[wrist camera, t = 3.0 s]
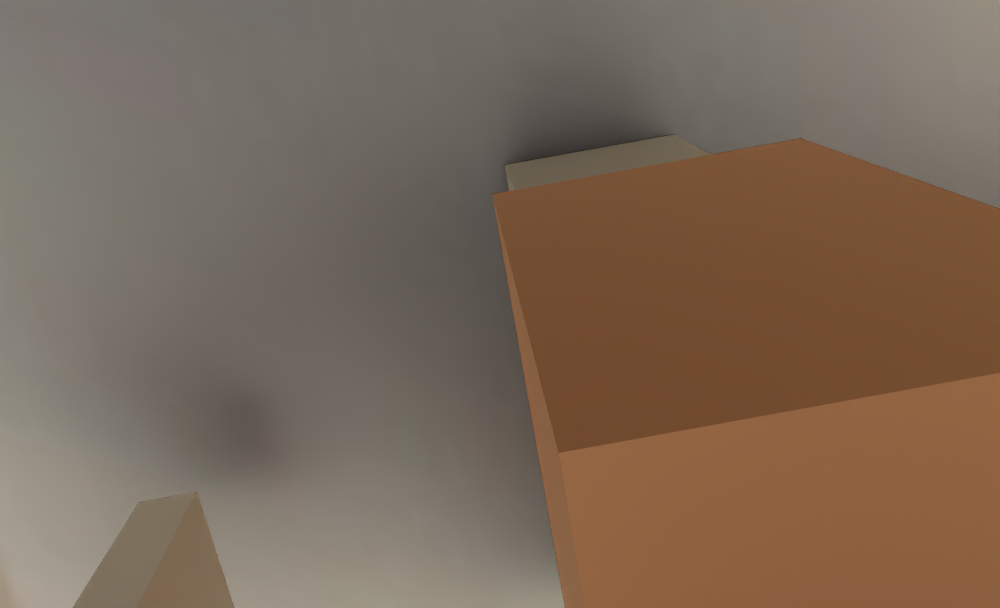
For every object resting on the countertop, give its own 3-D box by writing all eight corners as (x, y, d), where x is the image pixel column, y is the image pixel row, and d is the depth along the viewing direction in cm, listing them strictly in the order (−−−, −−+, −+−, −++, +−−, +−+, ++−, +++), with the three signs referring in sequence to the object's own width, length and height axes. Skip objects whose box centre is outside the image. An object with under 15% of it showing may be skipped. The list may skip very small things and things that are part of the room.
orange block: (478, 138, 14) (558, 453, 4) (692, 99, 14) (1305, 317, 4) (559, 598, 17) (722, 1439, 7) (737, 565, 17) (1153, 1360, 7)
